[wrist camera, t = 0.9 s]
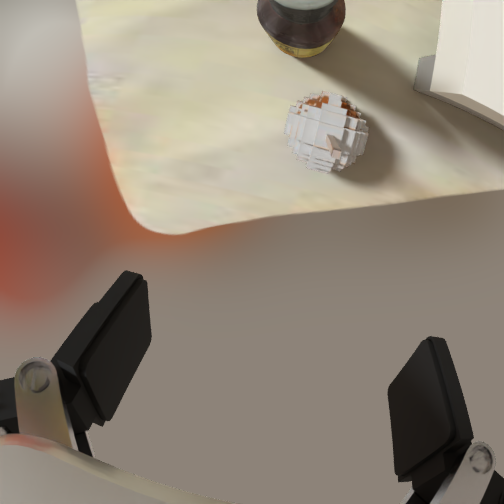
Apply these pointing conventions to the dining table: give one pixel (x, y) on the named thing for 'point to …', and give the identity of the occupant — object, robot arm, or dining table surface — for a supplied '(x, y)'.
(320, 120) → the decorative ornament
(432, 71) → the cabinet
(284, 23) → the sauce bottle
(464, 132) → the dining table surface
